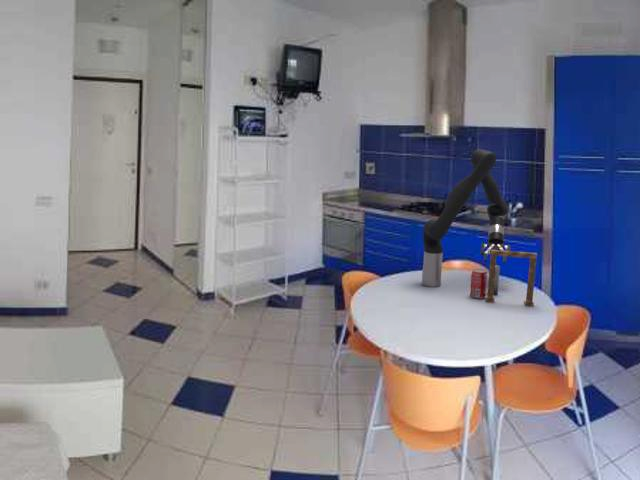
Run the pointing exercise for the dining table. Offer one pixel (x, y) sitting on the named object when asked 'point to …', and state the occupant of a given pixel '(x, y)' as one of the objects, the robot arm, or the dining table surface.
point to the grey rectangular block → (496, 280)
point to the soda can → (478, 283)
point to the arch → (530, 277)
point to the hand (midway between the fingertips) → (494, 262)
